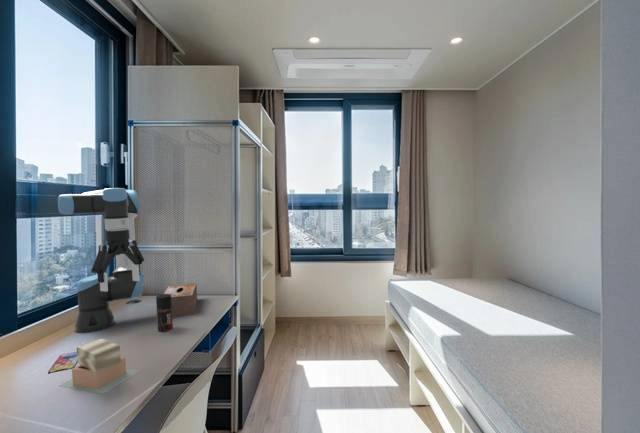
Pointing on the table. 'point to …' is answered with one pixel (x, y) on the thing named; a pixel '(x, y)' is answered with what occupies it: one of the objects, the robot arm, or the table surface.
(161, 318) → the deodorant
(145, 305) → the table surface
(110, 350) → the beige block
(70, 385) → the felt mat
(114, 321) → the robot arm
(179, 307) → the tissue box cover
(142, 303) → the table surface
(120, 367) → the peach open-top box
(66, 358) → the smartphone
